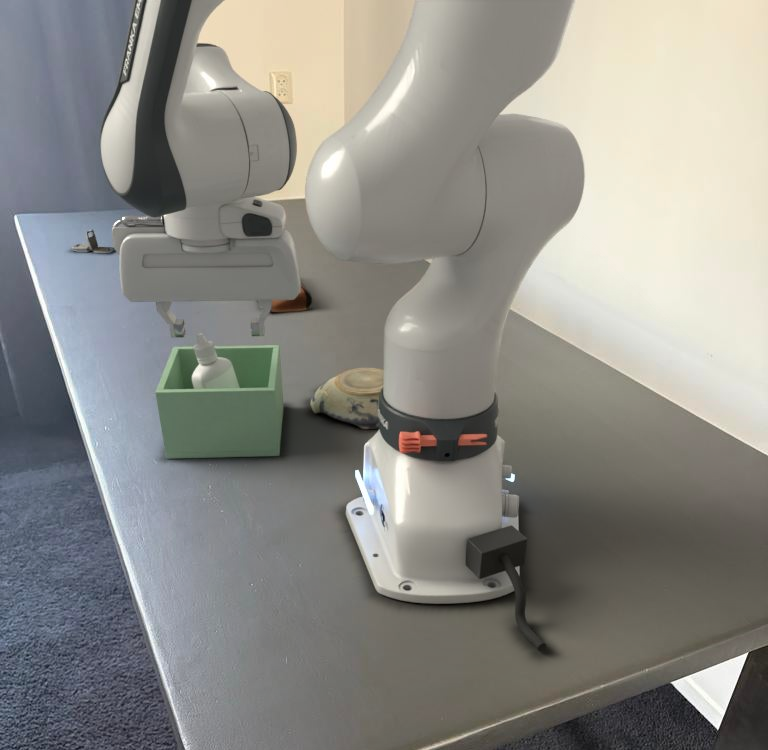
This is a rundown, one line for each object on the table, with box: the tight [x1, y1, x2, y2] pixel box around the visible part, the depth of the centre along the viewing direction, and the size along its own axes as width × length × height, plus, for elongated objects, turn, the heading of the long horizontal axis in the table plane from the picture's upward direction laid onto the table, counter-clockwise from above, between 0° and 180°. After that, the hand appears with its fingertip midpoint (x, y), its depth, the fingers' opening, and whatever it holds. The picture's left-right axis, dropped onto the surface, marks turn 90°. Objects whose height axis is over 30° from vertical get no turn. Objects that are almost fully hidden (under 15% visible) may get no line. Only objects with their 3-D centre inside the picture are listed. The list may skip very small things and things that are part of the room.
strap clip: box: [71, 228, 115, 254], centre depth 166 cm, size 8×3×4 cm, turn 81°
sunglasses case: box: [269, 282, 313, 313], centre depth 144 cm, size 18×7×7 cm, turn 22°
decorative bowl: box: [309, 367, 384, 430], centre depth 108 cm, size 15×4×15 cm
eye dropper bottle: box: [192, 332, 240, 389], centre depth 98 cm, size 4×6×12 cm
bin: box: [154, 344, 284, 460], centre depth 99 cm, size 14×14×9 cm
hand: (218, 335), depth 95 cm, fingers open, 8 cm apart
